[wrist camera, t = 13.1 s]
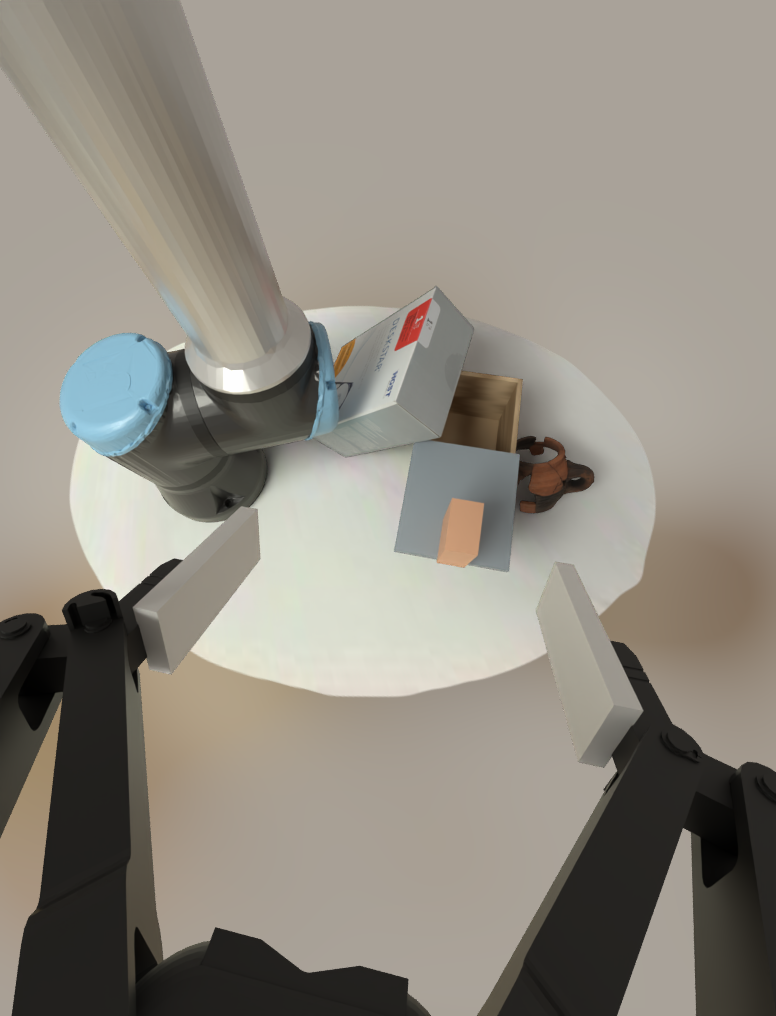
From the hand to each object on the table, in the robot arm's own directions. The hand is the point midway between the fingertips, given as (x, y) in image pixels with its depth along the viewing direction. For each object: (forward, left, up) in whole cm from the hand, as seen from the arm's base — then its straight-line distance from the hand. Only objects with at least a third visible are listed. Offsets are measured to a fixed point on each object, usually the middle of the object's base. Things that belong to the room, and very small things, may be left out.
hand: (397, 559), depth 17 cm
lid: (+5, +12, -26) cm, 29 cm away
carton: (+5, +23, -36) cm, 43 cm away
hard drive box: (-13, +27, -33) cm, 45 cm away
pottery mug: (+17, +21, -36) cm, 45 cm away
